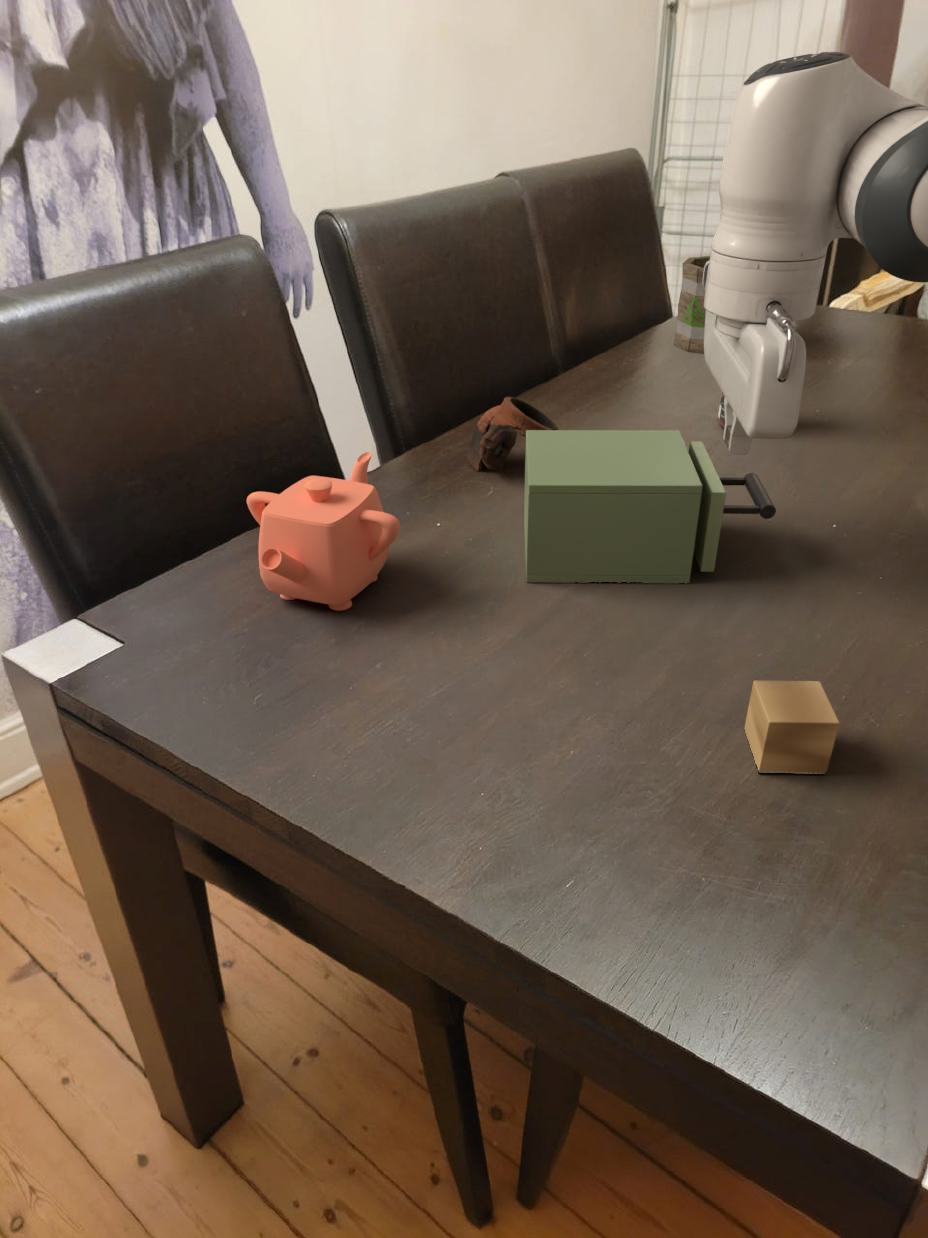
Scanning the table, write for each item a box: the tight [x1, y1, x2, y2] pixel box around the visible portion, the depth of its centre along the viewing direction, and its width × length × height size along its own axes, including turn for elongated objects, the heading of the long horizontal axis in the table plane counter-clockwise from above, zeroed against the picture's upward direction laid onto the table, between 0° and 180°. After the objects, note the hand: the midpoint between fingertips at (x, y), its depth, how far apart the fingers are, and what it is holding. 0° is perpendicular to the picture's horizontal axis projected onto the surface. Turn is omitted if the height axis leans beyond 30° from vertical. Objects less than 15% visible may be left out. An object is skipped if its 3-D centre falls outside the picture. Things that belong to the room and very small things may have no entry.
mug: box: [673, 255, 710, 354], centre depth 139 cm, size 16×11×12 cm
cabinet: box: [523, 429, 702, 585], centre depth 86 cm, size 15×13×10 cm
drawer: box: [688, 440, 777, 573], centre depth 86 cm, size 19×11×8 cm, turn 88°
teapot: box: [246, 451, 401, 612], centre depth 81 cm, size 14×12×10 cm
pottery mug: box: [466, 396, 560, 472], centre depth 104 cm, size 12×10×8 cm
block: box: [743, 680, 840, 773], centre depth 62 cm, size 4×4×4 cm
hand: (735, 448), depth 82 cm, fingers closed
